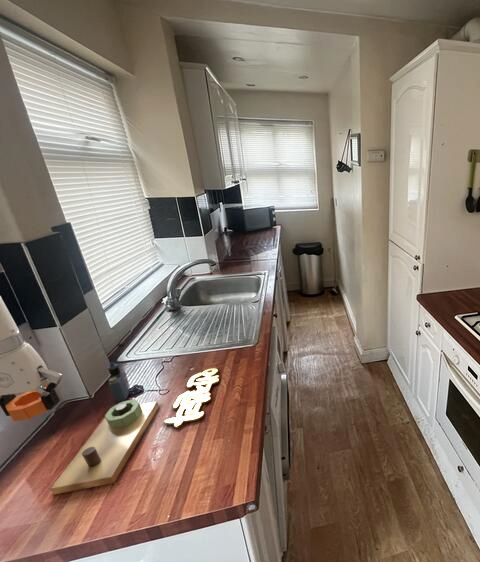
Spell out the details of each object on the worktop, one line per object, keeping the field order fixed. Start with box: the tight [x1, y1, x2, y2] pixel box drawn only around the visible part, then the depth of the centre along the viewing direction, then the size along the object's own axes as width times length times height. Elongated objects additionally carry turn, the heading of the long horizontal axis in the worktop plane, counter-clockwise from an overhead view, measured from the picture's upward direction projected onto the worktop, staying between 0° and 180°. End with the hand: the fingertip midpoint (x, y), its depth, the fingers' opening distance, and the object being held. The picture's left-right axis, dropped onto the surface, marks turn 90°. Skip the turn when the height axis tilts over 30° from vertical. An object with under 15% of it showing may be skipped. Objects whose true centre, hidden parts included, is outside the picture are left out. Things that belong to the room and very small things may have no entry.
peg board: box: [50, 401, 160, 496], centre depth 79 cm, size 12×24×6 cm, turn 12°
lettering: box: [164, 367, 220, 429], centre depth 96 cm, size 25×10×1 cm, turn 10°
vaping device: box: [107, 362, 130, 404], centre depth 94 cm, size 3×5×12 cm, turn 21°
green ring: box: [104, 399, 142, 429], centre depth 86 cm, size 7×7×3 cm
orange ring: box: [5, 386, 48, 422], centre depth 72 cm, size 7×7×3 cm
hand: (34, 407), depth 72 cm, fingers closed on orange ring, 7 cm apart
